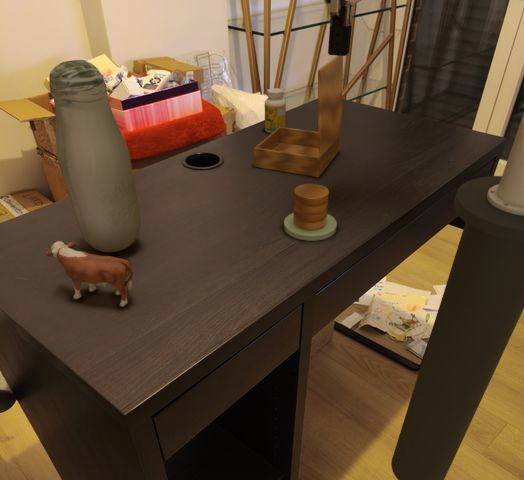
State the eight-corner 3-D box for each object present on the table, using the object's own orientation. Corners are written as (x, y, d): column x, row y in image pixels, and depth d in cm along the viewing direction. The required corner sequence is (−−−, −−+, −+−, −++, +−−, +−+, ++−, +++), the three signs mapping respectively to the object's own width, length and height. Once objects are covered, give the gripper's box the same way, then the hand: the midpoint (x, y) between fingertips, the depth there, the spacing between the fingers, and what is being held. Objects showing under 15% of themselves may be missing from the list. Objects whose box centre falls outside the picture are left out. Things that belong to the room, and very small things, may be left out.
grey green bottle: (117, 268, 78) (67, 75, 59) (73, 250, 82) (14, 64, 63) (157, 241, 84) (125, 58, 65) (115, 226, 88) (73, 50, 69)
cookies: (330, 218, 88) (333, 186, 83) (320, 233, 84) (322, 201, 79) (299, 212, 89) (301, 181, 85) (288, 226, 85) (289, 194, 81)
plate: (342, 220, 89) (343, 215, 88) (327, 245, 83) (327, 240, 82) (294, 211, 92) (294, 206, 91) (275, 234, 85) (276, 229, 85)
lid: (317, 70, 90) (320, 70, 89) (340, 53, 100) (343, 53, 100) (318, 156, 100) (321, 156, 100) (339, 133, 110) (341, 133, 110)
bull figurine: (69, 279, 75) (53, 233, 70) (144, 295, 72) (134, 248, 67) (51, 295, 72) (33, 248, 67) (129, 312, 69) (117, 264, 64)
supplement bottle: (289, 131, 124) (290, 90, 118) (273, 135, 122) (273, 94, 115) (276, 125, 127) (277, 85, 121) (260, 130, 125) (260, 89, 118)
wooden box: (254, 166, 107) (253, 148, 105) (278, 143, 118) (279, 126, 115) (318, 177, 103) (319, 158, 100) (338, 152, 113) (340, 134, 110)
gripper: (365, -98, 61) (349, 66, 73) (388, -98, 71) (370, 46, 83) (309, -97, 63) (302, 63, 75) (339, -97, 73) (328, 43, 85)
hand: (338, 54), depth 79 cm, fingers closed
